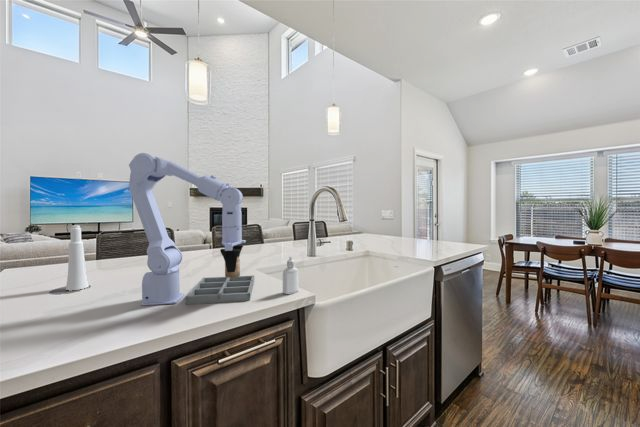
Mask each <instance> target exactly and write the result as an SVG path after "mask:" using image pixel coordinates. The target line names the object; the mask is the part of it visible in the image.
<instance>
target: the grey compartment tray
mask: <svg viewBox="0 0 640 427" xmlns="http://www.w3.org/2000/svg"><path fill="white" fill-rule="evenodd" d="M254 285H255V275H240V276H238V277H232V278H229V277H225V276H215V277H213V276H212V277H210V276H209V277H202V279H201V280H199V281H198V283H197V284H196V285H195V286H194V287H193V288H192V289H191V290H190V291H189V292H188V294H187V295H186V296H185V305H195V304H197V305H198V304H211V303H212V304H213V303H229V302H233V303H234V302H246V301H247V302H248V301H249V302H250V301H251V299H252V298H251V297H252V293H253V289H254Z"/></svg>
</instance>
